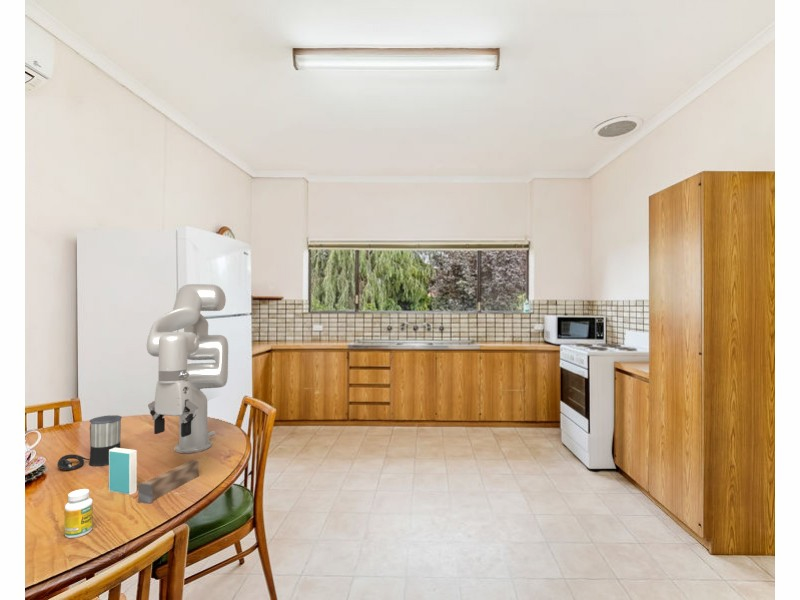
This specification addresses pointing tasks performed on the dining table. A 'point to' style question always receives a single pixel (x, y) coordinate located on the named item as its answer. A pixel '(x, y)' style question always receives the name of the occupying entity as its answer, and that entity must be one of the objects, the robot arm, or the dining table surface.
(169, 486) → the bar
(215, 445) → the dining table surface
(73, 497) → the supplement bottle
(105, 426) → the milk frother
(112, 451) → the tile
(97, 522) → the dining table surface
